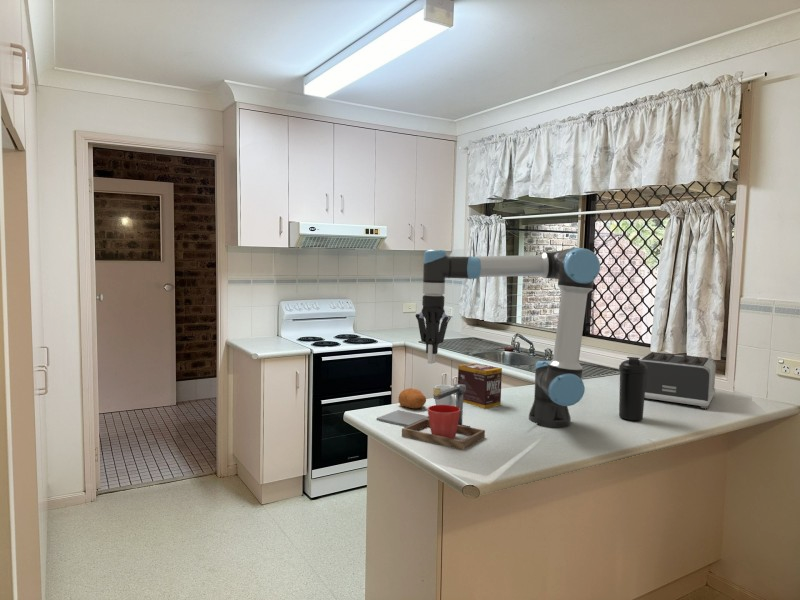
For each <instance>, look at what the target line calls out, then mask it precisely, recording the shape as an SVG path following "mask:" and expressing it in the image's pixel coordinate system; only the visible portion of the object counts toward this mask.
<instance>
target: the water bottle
mask: <svg viewBox="0 0 800 600" xmlns="http://www.w3.org/2000/svg"><path fill="white" fill-rule="evenodd" d="M626 358H627V359H626V360H624V361H622V362H620V364H619V367H618V371H619V404H618V407H619V408H618V410H619V411H618V416H619V417H620V418H621V419H625V420H629V421H641V420H643V418H644V409H645V399H646V398H645V386H646V374H647V372H648V368H647V366H646V365H645V364H644V363H643V362H641V361H640V360H639V359H641V358H640V357H636V356H635V357H634V356H627V357H626Z"/></svg>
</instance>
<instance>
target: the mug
mask: <svg viewBox="0 0 800 600" xmlns="http://www.w3.org/2000/svg"><path fill="white" fill-rule="evenodd" d="M453 387H454V385H449V384H438V385H435V386H434V388H441V392H442V391H445V390H448V389H450V388H453ZM455 395H456V393H454V394H452V395H449V396H447V397H444V398H442V399H439V400H437V399H434V401H435V403H434V404H435V405H452V406H456V396H455Z"/></svg>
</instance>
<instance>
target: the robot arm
mask: <svg viewBox="0 0 800 600" xmlns="http://www.w3.org/2000/svg"><path fill="white" fill-rule="evenodd" d="M423 254H424V255H423V265H422V266H423V270H422V271H423V272H422V273H423V278H422V282H423V283H422V294H423V296H422V302H421V304H422V309H421V312H419V313H416V314H415V319H416V320H417V324H418V330H419V335H420V341H421V342H422V343H425V353H426V354H427V364H431V365H432V364H435V363H436V355H437V354H438V353H439V352H438V351H439V345H440V344H443V343H444V339H445V336H446V332H447V328H448V323H449V322H450V321H451V318H452V317H451V316H449V315H447V313H445V309H444V308H445V307H444V306H445V296H444V295H445V293H446V279H460V280H461V279H462V280H463V279H465V280H467V279H469V280H475V279H476V280H477V279H479V278H487V277H489V278H491V277H492V278H493V277H494V278H496V277H502V278H503V277H539V276H540V277H542V278H543V279H553V280H558V282H557V287H558V288H559V290H560V291H561V293H560V301H559V309H558V316H557V325H556V332H555V333H556V334H555V341H554V349H553V358H552V359H551V360H538V361H537V362H536V363H535V368H534V371H535V372H534V373H535V376H534V398H533V399H534V400H533V403H532V406H531V408H530V410H529V413H528V420H529V421H530V422H532V423H534V424H536V426H541V427H546V428H566V427H569V426H570V425H571V414H570V411H569V407H571V406H575V405H576V404H577V403H579V402H580V401H581V400H582V398H583V397H584V395H585V391H586V390H585V389H586V388H585V384H584V381H583V380H582V377H583V376H582V375H583V369H584V368H583V366H582V365H581V364H580V354H581V348H582V338H583V331H584V323H585V314H586V310H587V309H586V308H587V299H588V294H589V293H590V292H591V291H593V288H594V282H595V280H596V278H598V275H600V271H601V262H600V259H599V257H598V256H597V254H596V253H595V252H594V251H592V250H590V249H588V248H583V247H576V248H566V249H562V250H557V251H556V250H555V251H549V252H542V253H541V254H537V255H533V254H532V255H527V254H526V255H489V256H487V255H485V256H484V255H483V256H451V255H447V252H446V250H443V249H441V250H438V249H427V250H426V251H424V253H423Z"/></svg>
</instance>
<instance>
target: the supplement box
mask: <svg viewBox="0 0 800 600" xmlns="http://www.w3.org/2000/svg"><path fill="white" fill-rule="evenodd" d="M502 373H503V368H502V367H497V366H492V365H488V364H482V363H477V362H472V363H465V364H459V365H458V369H457V384H463V385H466V391H465V392H463V404H464V403H465V404H468V405H471V406H475V407H477V408H479V409H480V408H481V409H483V410H485V409H490V408H493V407H498V406H501V404H502V378H503V377H502V375H503V374H502Z"/></svg>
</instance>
